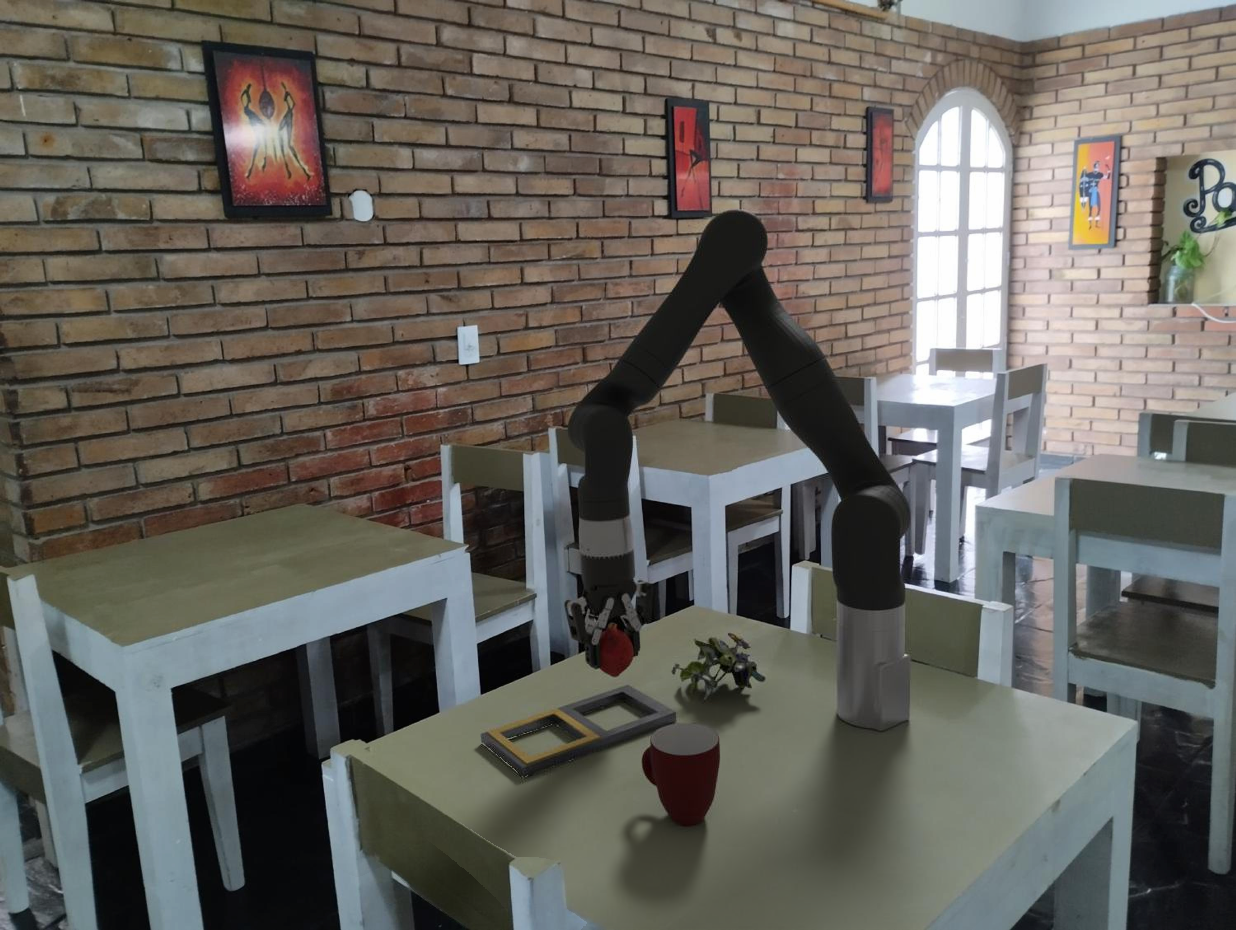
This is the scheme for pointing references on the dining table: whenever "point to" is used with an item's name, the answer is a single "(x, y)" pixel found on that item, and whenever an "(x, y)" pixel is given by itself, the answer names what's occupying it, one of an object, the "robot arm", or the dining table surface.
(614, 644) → the onion
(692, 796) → the mug
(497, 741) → the grey yellow flat frame
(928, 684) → the dining table surface
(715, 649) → the passion flower
